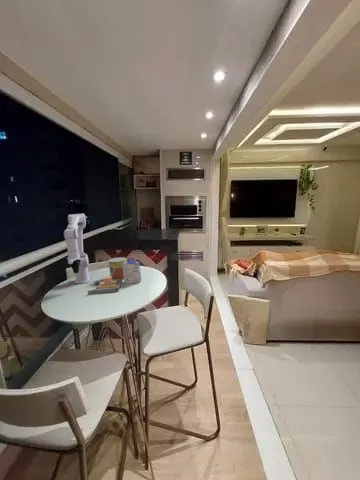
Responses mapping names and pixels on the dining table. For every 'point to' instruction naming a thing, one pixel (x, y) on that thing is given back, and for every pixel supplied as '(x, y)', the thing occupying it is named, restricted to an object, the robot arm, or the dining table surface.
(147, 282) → the dining table surface
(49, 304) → the dining table surface
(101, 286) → the pallet
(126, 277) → the ink cartridge box
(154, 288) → the dining table surface
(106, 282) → the salmon pink cube
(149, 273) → the dining table surface
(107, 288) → the dock
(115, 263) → the canned food
